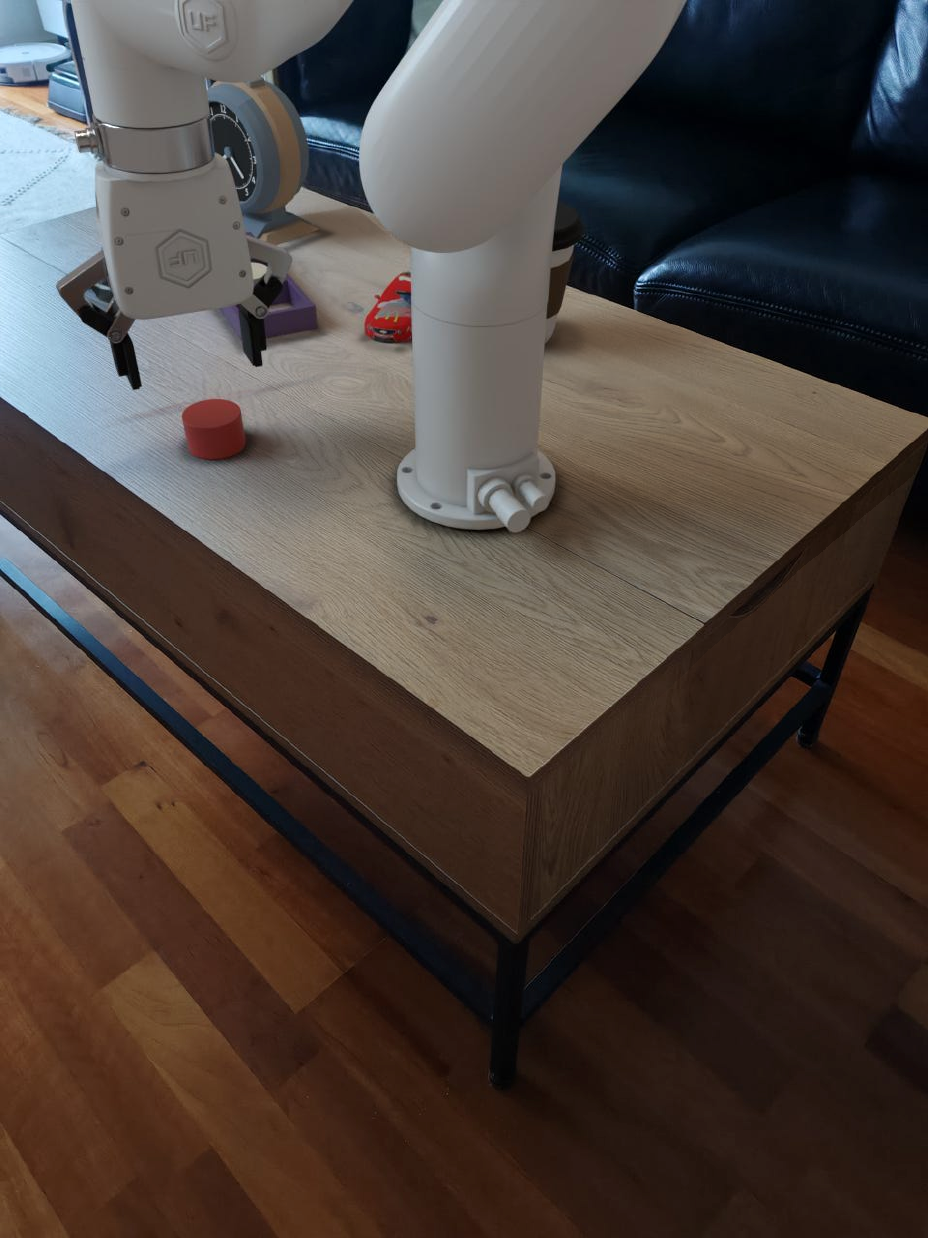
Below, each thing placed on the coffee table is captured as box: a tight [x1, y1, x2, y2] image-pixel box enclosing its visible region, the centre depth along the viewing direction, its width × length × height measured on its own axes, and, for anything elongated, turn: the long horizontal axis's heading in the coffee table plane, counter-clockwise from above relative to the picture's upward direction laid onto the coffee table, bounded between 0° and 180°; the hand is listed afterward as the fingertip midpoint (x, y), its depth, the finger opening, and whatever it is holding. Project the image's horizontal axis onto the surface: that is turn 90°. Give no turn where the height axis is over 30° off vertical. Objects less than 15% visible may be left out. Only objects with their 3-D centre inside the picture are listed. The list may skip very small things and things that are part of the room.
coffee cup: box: [545, 200, 585, 344], centre depth 94 cm, size 11×11×12 cm
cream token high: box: [241, 262, 267, 284], centre depth 102 cm, size 5×5×1 cm
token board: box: [218, 232, 319, 341], centre depth 103 cm, size 22×8×3 cm, turn 26°
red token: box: [181, 398, 247, 461], centre depth 81 cm, size 5×5×3 cm
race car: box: [364, 270, 412, 344], centre depth 99 cm, size 13×5×4 cm, turn 161°
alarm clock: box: [207, 76, 319, 246], centre depth 112 cm, size 14×10×18 cm
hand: (194, 370), depth 78 cm, fingers open, 9 cm apart
